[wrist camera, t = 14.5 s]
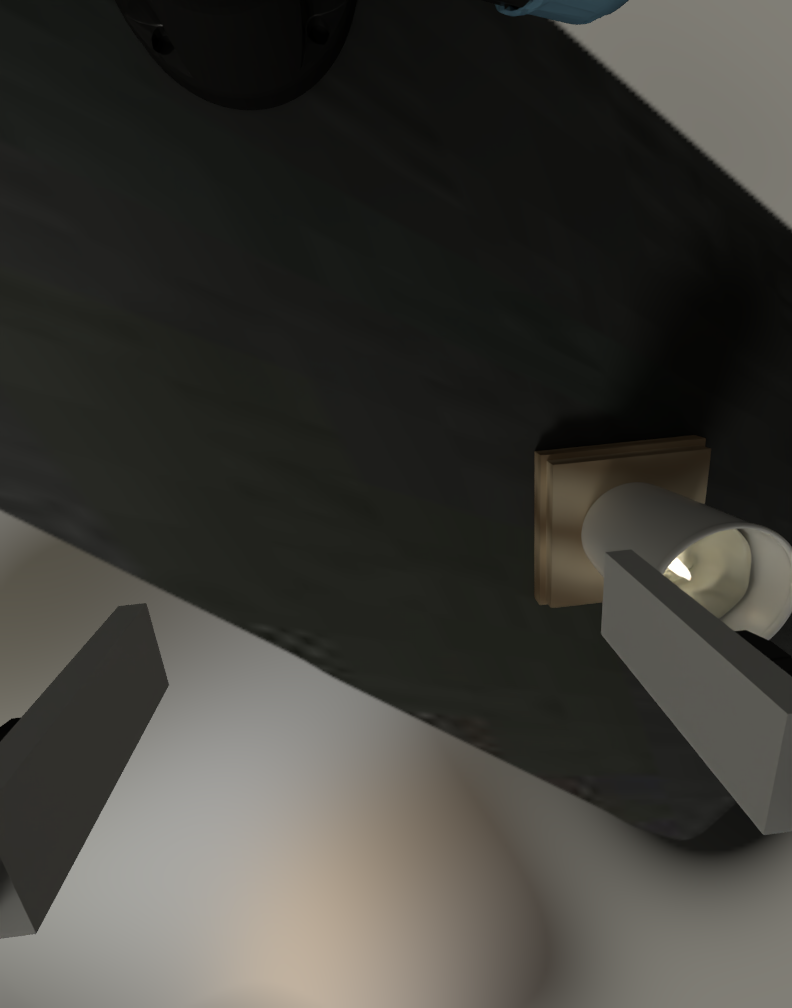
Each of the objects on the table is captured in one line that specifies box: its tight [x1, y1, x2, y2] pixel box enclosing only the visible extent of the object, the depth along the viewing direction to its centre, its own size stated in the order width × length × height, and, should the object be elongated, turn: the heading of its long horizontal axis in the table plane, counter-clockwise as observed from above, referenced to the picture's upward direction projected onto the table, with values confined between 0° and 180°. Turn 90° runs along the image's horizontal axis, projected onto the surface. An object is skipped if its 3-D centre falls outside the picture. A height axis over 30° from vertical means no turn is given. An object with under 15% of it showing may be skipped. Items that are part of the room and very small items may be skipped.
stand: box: [535, 435, 711, 608], centre depth 45 cm, size 14×14×3 cm
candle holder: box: [581, 482, 792, 640], centre depth 37 cm, size 10×10×12 cm
